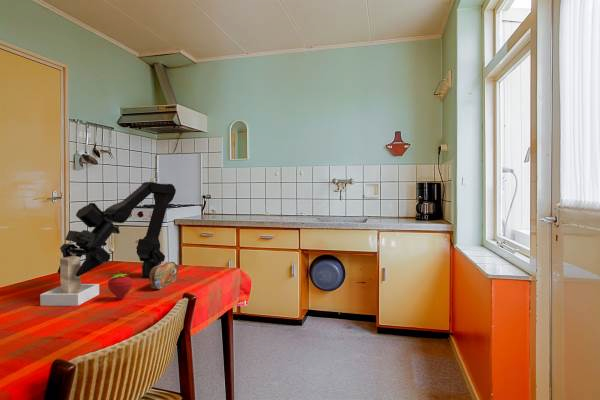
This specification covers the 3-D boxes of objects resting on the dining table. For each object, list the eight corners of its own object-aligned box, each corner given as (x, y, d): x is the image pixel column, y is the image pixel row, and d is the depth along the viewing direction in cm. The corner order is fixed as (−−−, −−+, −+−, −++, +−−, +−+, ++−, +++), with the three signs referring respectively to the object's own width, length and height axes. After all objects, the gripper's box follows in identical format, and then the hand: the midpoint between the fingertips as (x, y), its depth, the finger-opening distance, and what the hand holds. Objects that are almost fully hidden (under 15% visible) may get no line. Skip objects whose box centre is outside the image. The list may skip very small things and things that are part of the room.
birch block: (73, 294, 117) (72, 256, 117) (81, 296, 116) (80, 257, 115) (61, 298, 114) (60, 258, 113) (68, 299, 112) (67, 259, 111)
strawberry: (128, 302, 112) (127, 271, 112) (104, 302, 112) (103, 271, 111) (136, 296, 118) (135, 267, 117) (113, 297, 117) (112, 267, 117)
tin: (155, 292, 123) (155, 268, 123) (147, 291, 124) (147, 267, 123) (178, 281, 138) (178, 259, 137) (171, 280, 138) (171, 259, 138)
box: (99, 294, 120) (99, 284, 120) (78, 305, 109) (77, 294, 109) (65, 294, 120) (65, 284, 120) (40, 305, 109) (40, 294, 109)
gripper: (65, 220, 121) (30, 257, 112) (101, 222, 114) (67, 263, 104) (87, 239, 129) (56, 276, 119) (123, 243, 121) (93, 282, 112)
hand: (67, 274), depth 113 cm, fingers open, 9 cm apart
